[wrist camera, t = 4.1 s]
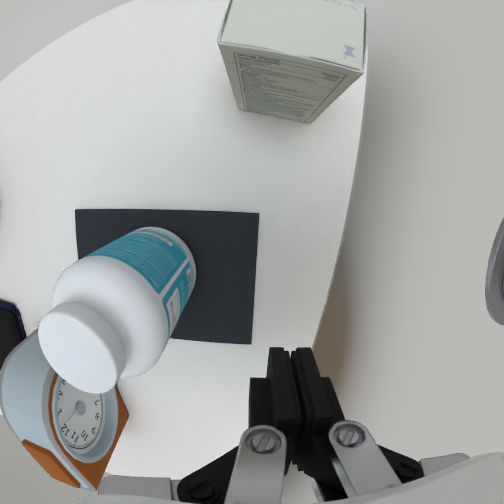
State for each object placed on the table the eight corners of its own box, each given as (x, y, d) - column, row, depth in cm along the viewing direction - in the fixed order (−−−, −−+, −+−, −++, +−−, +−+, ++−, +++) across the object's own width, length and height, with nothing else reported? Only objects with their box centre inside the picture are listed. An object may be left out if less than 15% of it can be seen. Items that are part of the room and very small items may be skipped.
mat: (259, 213, 22) (259, 213, 22) (251, 342, 25) (251, 344, 25) (76, 209, 22) (74, 209, 22) (90, 324, 25) (88, 325, 25)
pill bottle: (106, 247, 23) (0, 308, 10) (172, 209, 22) (78, 251, 9) (145, 317, 24) (77, 418, 11) (213, 289, 24) (176, 402, 11)
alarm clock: (135, 421, 29) (103, 501, 16) (84, 412, 29) (46, 478, 16) (96, 326, 25) (24, 407, 12) (43, 322, 25) (-26, 383, 12)
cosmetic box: (318, 80, 19) (373, 4, 8) (311, 127, 21) (370, 76, 9) (244, 65, 19) (237, -26, 7) (233, 112, 20) (214, 43, 8)
